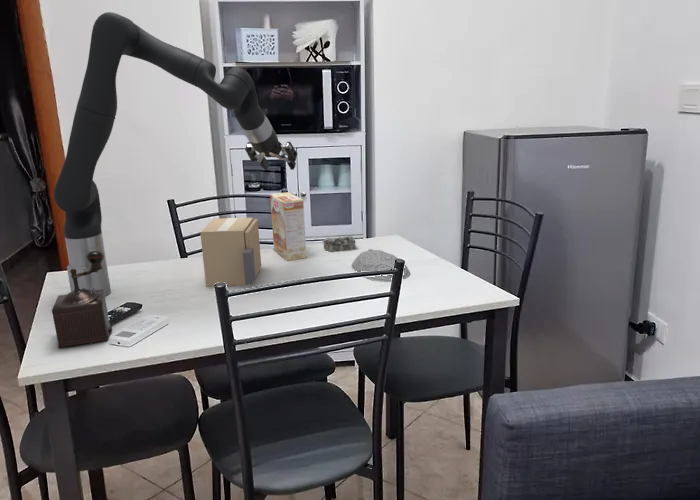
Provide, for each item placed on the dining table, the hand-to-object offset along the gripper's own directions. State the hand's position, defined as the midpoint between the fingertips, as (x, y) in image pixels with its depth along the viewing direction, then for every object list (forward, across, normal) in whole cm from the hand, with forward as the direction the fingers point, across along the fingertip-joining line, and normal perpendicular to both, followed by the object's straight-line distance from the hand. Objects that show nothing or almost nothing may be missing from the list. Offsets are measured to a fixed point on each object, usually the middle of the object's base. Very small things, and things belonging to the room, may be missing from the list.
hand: (280, 167), depth 175 cm
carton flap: (+12, +4, +31) cm, 33 cm away
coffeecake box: (+30, +5, +13) cm, 33 cm away
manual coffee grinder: (-19, +25, +63) cm, 70 cm away
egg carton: (+38, -9, +6) cm, 39 cm away
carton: (+12, +12, +31) cm, 35 cm away
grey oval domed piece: (+25, -29, +20) cm, 43 cm away
